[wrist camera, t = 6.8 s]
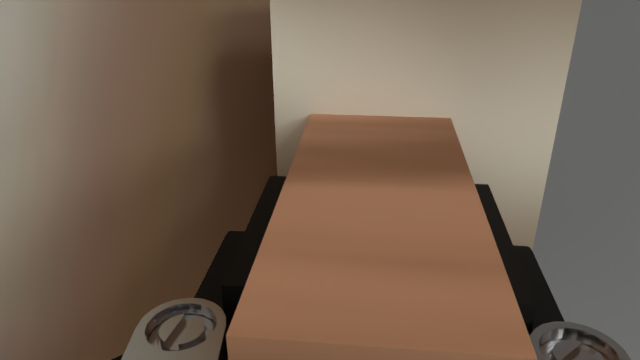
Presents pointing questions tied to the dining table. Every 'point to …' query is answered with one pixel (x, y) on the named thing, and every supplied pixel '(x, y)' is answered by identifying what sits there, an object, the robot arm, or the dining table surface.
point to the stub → (403, 177)
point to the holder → (597, 179)
